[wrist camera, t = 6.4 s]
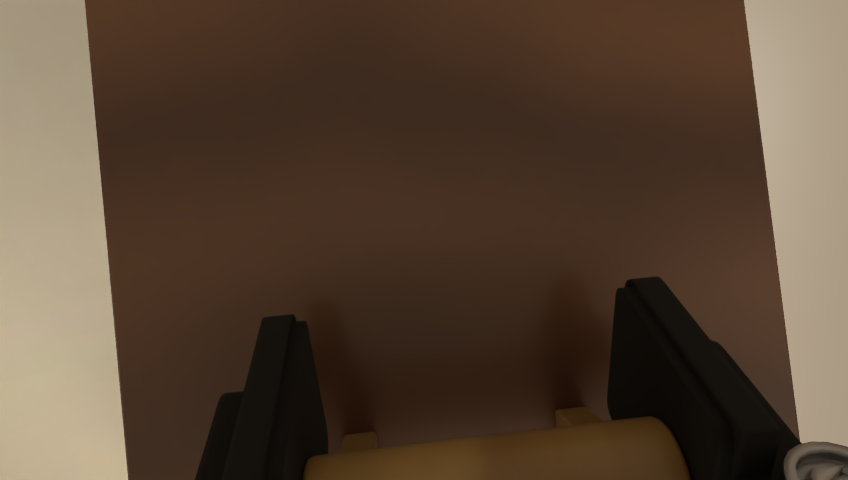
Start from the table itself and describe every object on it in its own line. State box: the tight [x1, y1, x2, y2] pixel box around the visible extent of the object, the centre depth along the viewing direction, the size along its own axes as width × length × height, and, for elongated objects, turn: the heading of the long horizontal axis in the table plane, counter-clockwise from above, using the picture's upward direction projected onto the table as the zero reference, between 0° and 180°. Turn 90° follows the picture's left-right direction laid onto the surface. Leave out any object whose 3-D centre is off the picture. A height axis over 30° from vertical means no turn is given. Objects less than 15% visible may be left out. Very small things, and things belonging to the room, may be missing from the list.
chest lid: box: [85, 0, 800, 480], centre depth 12 cm, size 18×14×6 cm
